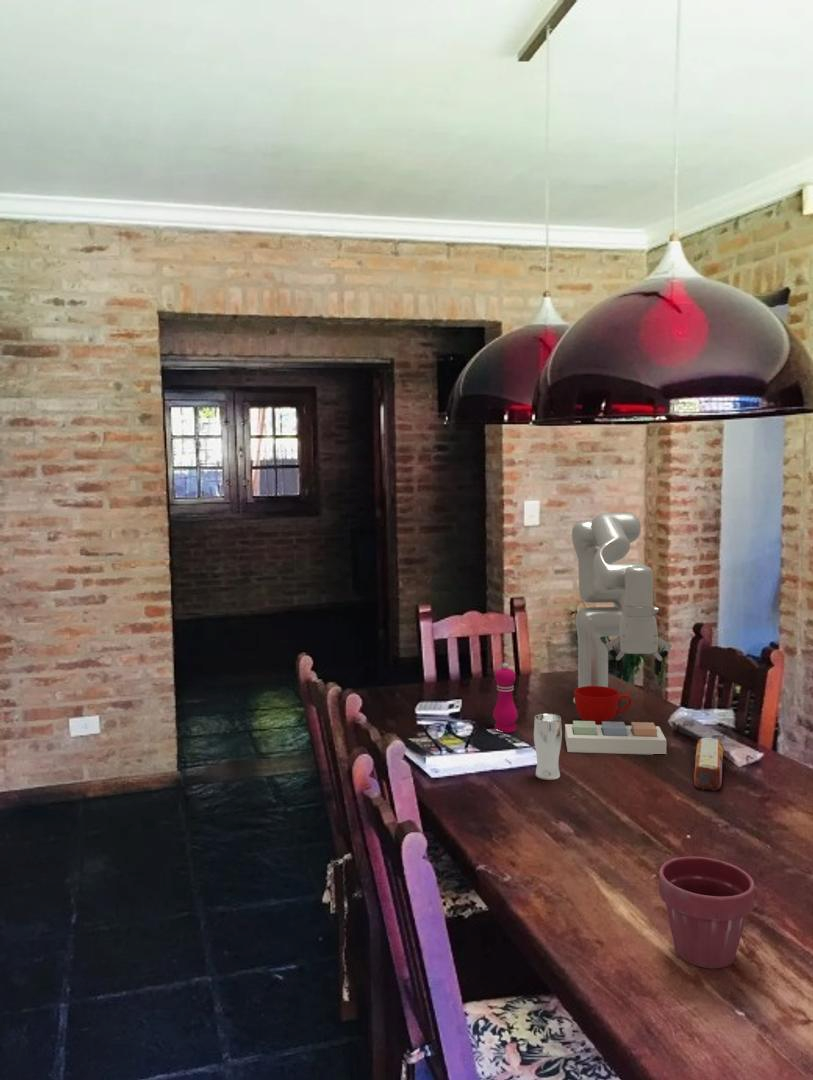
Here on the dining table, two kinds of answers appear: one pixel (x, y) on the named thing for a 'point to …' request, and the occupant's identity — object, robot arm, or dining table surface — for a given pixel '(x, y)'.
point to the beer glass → (547, 745)
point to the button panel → (614, 742)
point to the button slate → (614, 728)
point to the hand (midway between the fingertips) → (638, 674)
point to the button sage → (584, 728)
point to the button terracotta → (643, 729)
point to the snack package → (708, 764)
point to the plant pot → (706, 908)
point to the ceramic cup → (598, 703)
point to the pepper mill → (505, 701)
